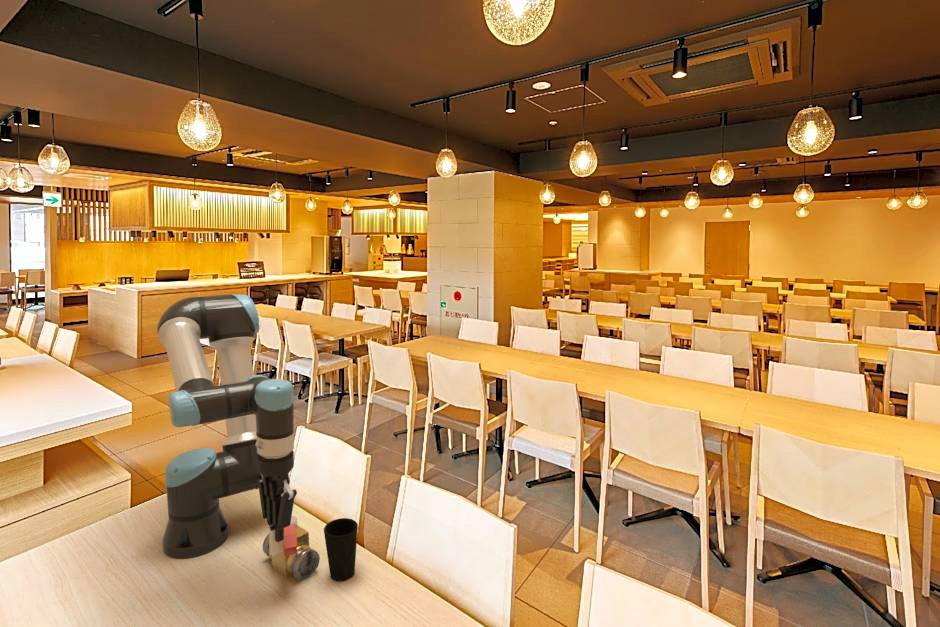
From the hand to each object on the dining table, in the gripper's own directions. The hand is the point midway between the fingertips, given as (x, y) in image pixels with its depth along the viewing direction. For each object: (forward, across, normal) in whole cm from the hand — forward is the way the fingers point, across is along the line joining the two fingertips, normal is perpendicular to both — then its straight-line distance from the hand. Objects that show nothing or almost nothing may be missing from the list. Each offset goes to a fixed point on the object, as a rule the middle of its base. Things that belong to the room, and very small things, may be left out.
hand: (276, 552), depth 114 cm
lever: (-1, -2, +4) cm, 5 cm away
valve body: (+9, -5, +7) cm, 13 cm away
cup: (+9, +6, +13) cm, 17 cm away
